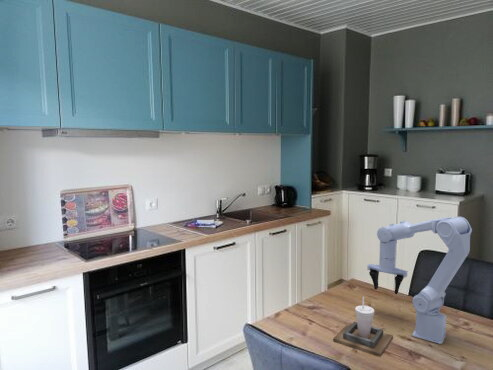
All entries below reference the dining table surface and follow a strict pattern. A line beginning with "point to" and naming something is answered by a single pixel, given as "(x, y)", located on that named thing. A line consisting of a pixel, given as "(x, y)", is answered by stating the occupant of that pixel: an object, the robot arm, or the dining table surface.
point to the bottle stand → (364, 339)
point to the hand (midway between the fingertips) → (386, 290)
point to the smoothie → (364, 319)
